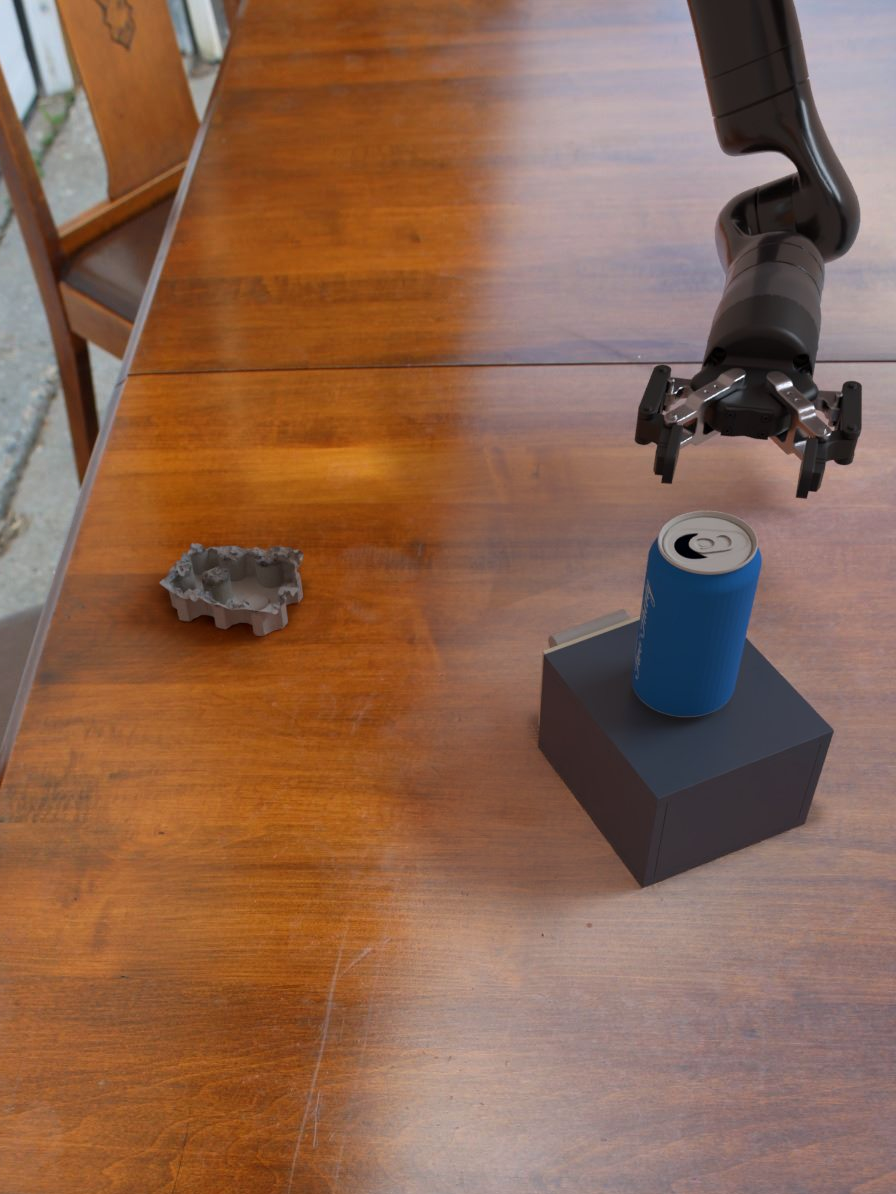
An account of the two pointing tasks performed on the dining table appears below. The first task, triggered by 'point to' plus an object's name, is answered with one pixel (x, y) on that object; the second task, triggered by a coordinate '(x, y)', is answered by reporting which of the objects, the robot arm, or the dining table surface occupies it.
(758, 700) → the cabinet
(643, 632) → the beverage can
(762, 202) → the robot arm
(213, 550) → the egg carton
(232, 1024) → the dining table surface
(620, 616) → the drawer
